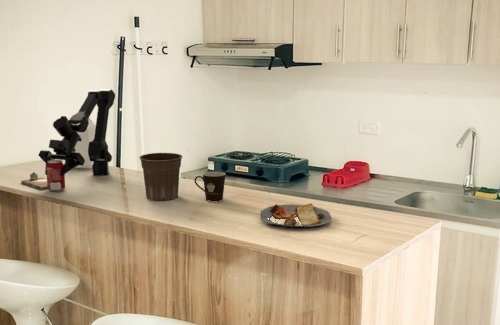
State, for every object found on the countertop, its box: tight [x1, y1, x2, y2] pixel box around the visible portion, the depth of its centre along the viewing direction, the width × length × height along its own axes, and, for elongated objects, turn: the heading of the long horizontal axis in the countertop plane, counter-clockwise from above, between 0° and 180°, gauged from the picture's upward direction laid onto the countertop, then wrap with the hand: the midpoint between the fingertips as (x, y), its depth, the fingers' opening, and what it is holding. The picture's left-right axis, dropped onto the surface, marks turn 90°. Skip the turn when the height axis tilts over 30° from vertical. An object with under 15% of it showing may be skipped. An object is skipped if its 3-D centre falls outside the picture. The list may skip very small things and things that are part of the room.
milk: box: [73, 115, 96, 169], centre depth 275 cm, size 12×12×26 cm
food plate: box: [260, 202, 332, 228], centre depth 187 cm, size 25×23×4 cm
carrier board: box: [20, 172, 48, 191], centre depth 235 cm, size 18×9×4 cm, turn 48°
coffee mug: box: [193, 171, 227, 202], centre depth 213 cm, size 12×9×10 cm
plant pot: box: [139, 152, 183, 202], centre depth 214 cm, size 16×16×16 cm
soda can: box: [45, 159, 66, 193], centre depth 225 cm, size 7×7×12 cm
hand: (53, 174), depth 223 cm, fingers closed on soda can, 7 cm apart
